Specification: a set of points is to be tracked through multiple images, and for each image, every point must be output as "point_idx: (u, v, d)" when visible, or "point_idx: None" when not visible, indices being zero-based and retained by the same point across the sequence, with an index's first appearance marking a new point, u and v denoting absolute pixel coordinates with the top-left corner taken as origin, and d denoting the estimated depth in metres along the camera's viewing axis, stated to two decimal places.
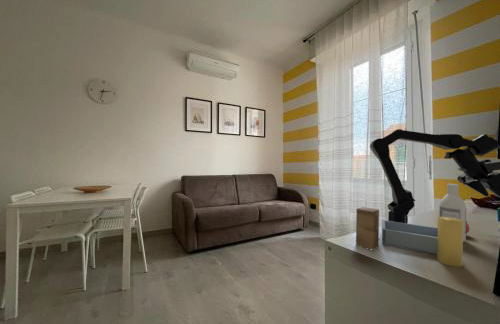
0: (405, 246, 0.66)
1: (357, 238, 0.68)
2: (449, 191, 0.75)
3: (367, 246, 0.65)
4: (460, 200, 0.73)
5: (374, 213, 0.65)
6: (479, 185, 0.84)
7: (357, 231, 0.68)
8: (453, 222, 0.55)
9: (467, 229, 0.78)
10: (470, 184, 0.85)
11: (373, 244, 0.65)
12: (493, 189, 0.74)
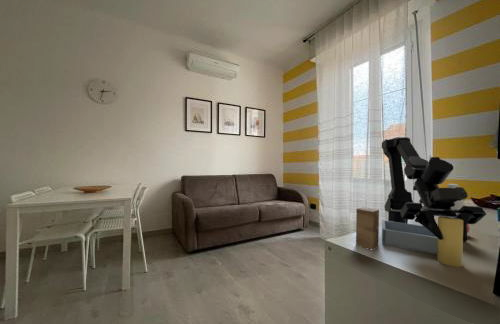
0: (405, 246, 0.66)
1: (357, 238, 0.68)
2: None
3: (367, 246, 0.65)
4: (460, 200, 0.73)
5: (374, 213, 0.65)
6: None
7: (357, 231, 0.68)
8: (453, 222, 0.55)
9: (467, 229, 0.78)
10: None
11: (373, 244, 0.65)
12: (423, 223, 0.62)
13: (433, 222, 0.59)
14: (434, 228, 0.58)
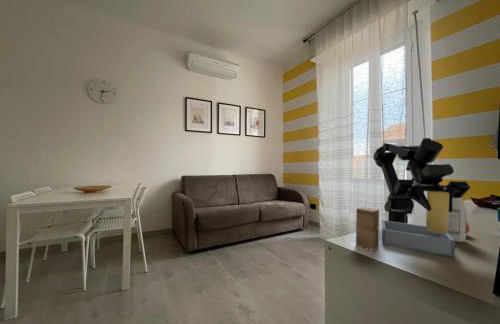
0: (405, 246, 0.66)
1: (357, 238, 0.68)
2: None
3: (367, 246, 0.65)
4: (460, 200, 0.73)
5: (374, 213, 0.65)
6: None
7: (357, 231, 0.68)
8: (440, 194, 0.61)
9: (467, 229, 0.78)
10: None
11: (373, 244, 0.65)
12: (414, 198, 0.68)
13: (423, 196, 0.65)
14: (423, 201, 0.65)
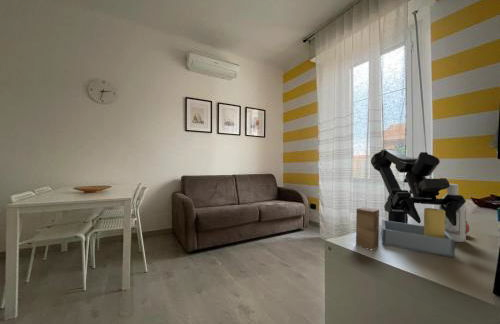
0: (405, 246, 0.66)
1: (357, 238, 0.68)
2: (449, 191, 0.75)
3: (367, 246, 0.65)
4: None
5: (374, 213, 0.65)
6: (449, 211, 0.66)
7: (357, 231, 0.68)
8: (436, 212, 0.63)
9: (467, 229, 0.78)
10: (444, 210, 0.69)
11: (373, 244, 0.65)
12: (405, 210, 0.71)
13: (413, 208, 0.68)
14: (414, 213, 0.67)
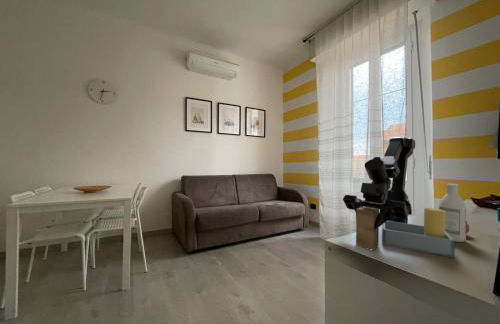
0: (405, 246, 0.66)
1: (357, 238, 0.68)
2: (449, 191, 0.75)
3: (367, 246, 0.65)
4: (460, 200, 0.73)
5: (374, 213, 0.65)
6: None
7: (357, 231, 0.68)
8: (436, 212, 0.63)
9: (467, 229, 0.78)
10: None
11: (373, 244, 0.65)
12: None
13: None
14: None
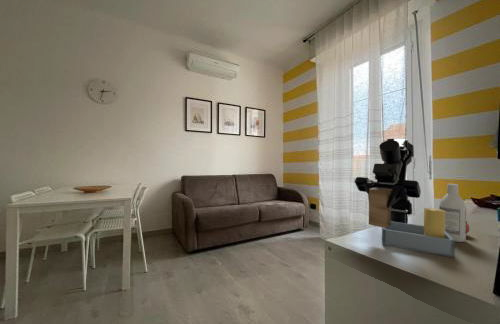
0: (405, 246, 0.66)
1: (370, 217, 0.69)
2: (449, 191, 0.75)
3: (380, 224, 0.67)
4: (460, 200, 0.73)
5: (387, 192, 0.66)
6: None
7: (370, 210, 0.69)
8: (436, 212, 0.63)
9: (467, 229, 0.78)
10: None
11: (386, 223, 0.66)
12: None
13: None
14: (368, 196, 0.72)
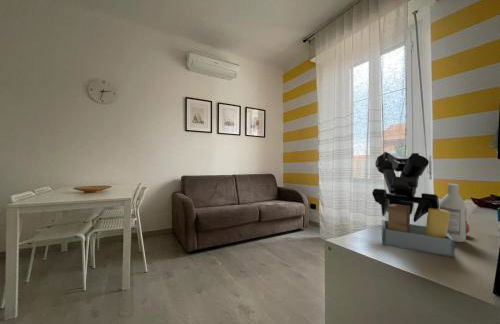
0: (405, 246, 0.66)
1: None
2: (449, 191, 0.75)
3: None
4: (460, 200, 0.73)
5: (407, 209, 0.68)
6: None
7: (389, 226, 0.71)
8: (441, 213, 0.63)
9: (467, 229, 0.78)
10: None
11: None
12: None
13: (383, 203, 0.76)
14: (381, 207, 0.75)
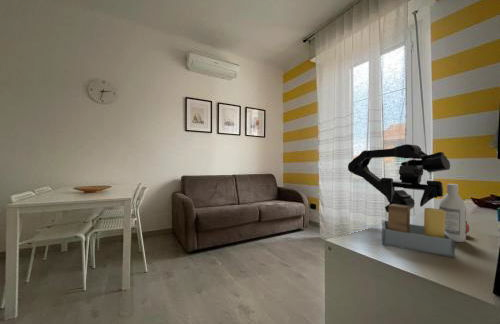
0: (405, 246, 0.66)
1: None
2: (449, 191, 0.75)
3: None
4: (460, 200, 0.73)
5: (407, 209, 0.68)
6: None
7: (389, 226, 0.71)
8: (437, 212, 0.63)
9: (467, 229, 0.78)
10: None
11: None
12: None
13: (389, 190, 0.81)
14: (388, 194, 0.81)
